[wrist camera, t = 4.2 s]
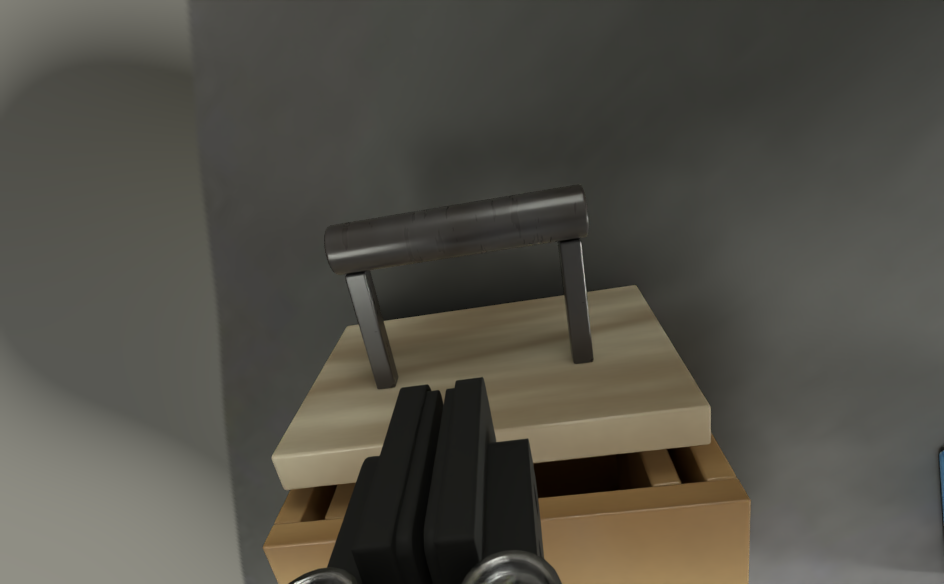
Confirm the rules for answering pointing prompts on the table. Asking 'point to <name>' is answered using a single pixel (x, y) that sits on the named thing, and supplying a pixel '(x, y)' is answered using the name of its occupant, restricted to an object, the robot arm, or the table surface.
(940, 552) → the table surface
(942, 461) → the ink box
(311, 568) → the cabinet
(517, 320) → the drawer
